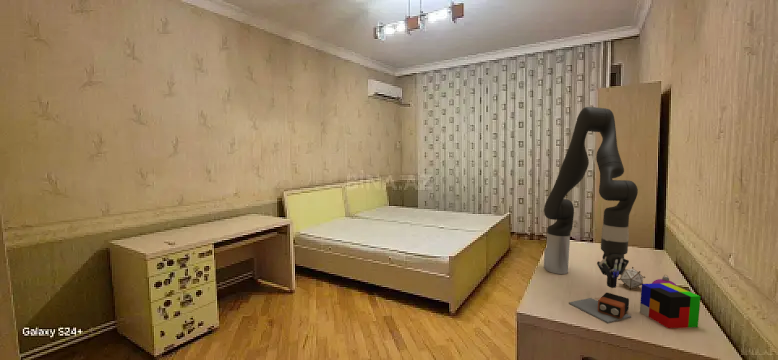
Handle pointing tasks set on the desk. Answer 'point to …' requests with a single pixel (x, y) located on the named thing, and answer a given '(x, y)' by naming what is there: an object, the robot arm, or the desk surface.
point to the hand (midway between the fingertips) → (611, 286)
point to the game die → (632, 278)
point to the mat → (595, 310)
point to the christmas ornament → (663, 281)
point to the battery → (613, 305)
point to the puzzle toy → (670, 305)
